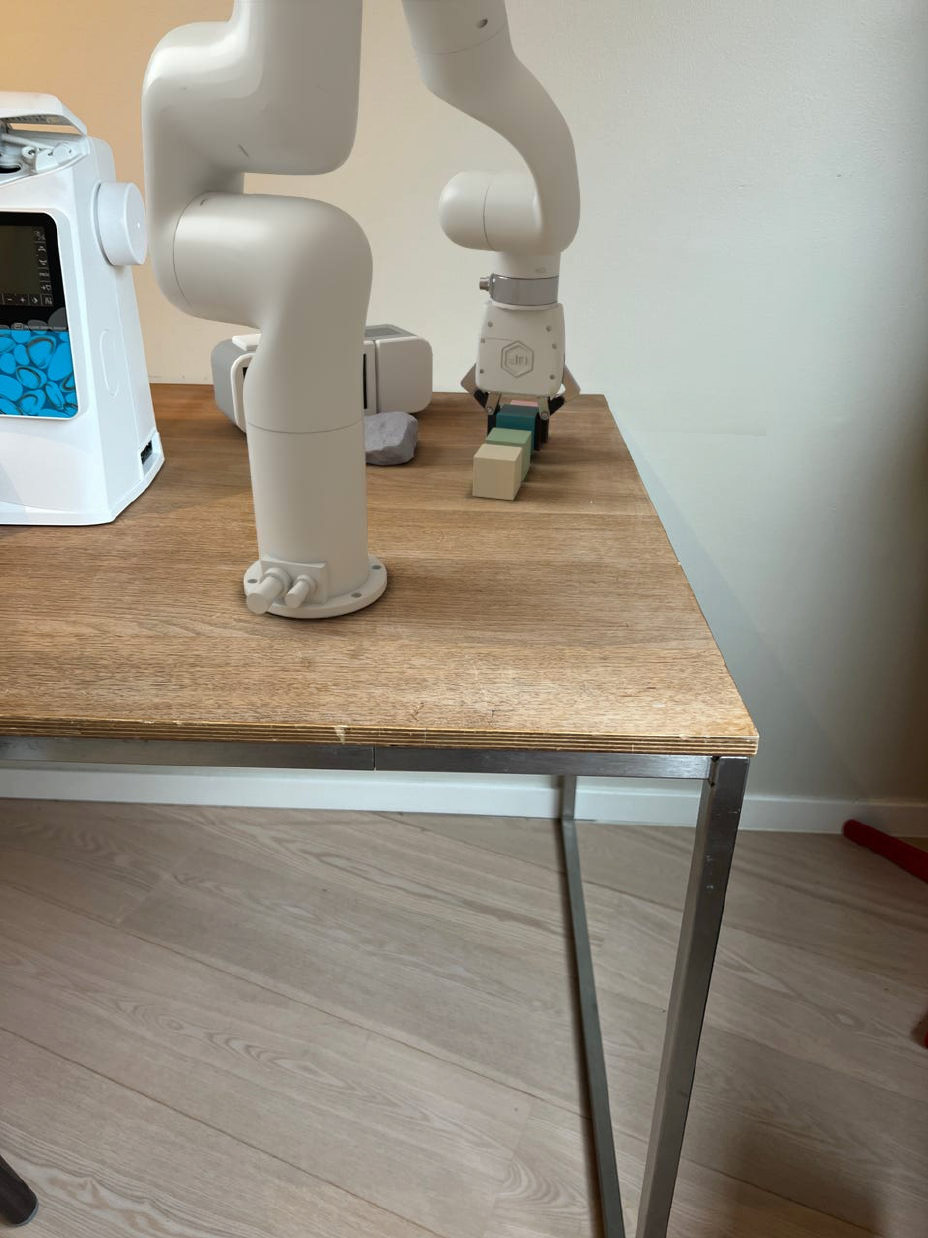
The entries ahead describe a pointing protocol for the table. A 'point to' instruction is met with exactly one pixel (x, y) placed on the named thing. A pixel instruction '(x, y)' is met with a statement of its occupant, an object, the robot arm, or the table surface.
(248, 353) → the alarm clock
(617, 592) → the table surface
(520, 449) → the cream block
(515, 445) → the sage block
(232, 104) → the robot arm
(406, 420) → the stone block
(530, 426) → the teal block
